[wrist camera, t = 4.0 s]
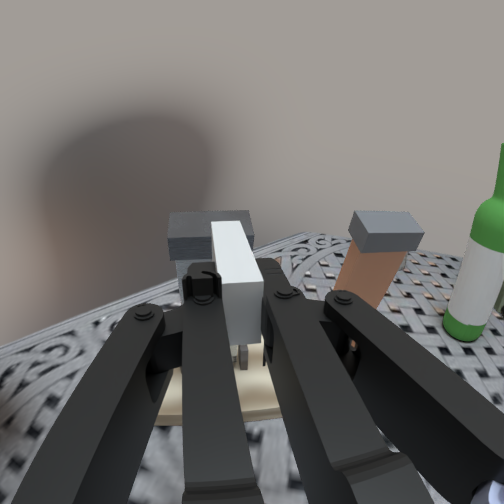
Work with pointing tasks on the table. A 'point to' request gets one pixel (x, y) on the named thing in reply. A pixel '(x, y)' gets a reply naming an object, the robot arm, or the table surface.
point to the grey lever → (200, 240)
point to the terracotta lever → (376, 252)
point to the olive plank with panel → (500, 300)
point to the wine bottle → (479, 268)
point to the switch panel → (248, 384)
